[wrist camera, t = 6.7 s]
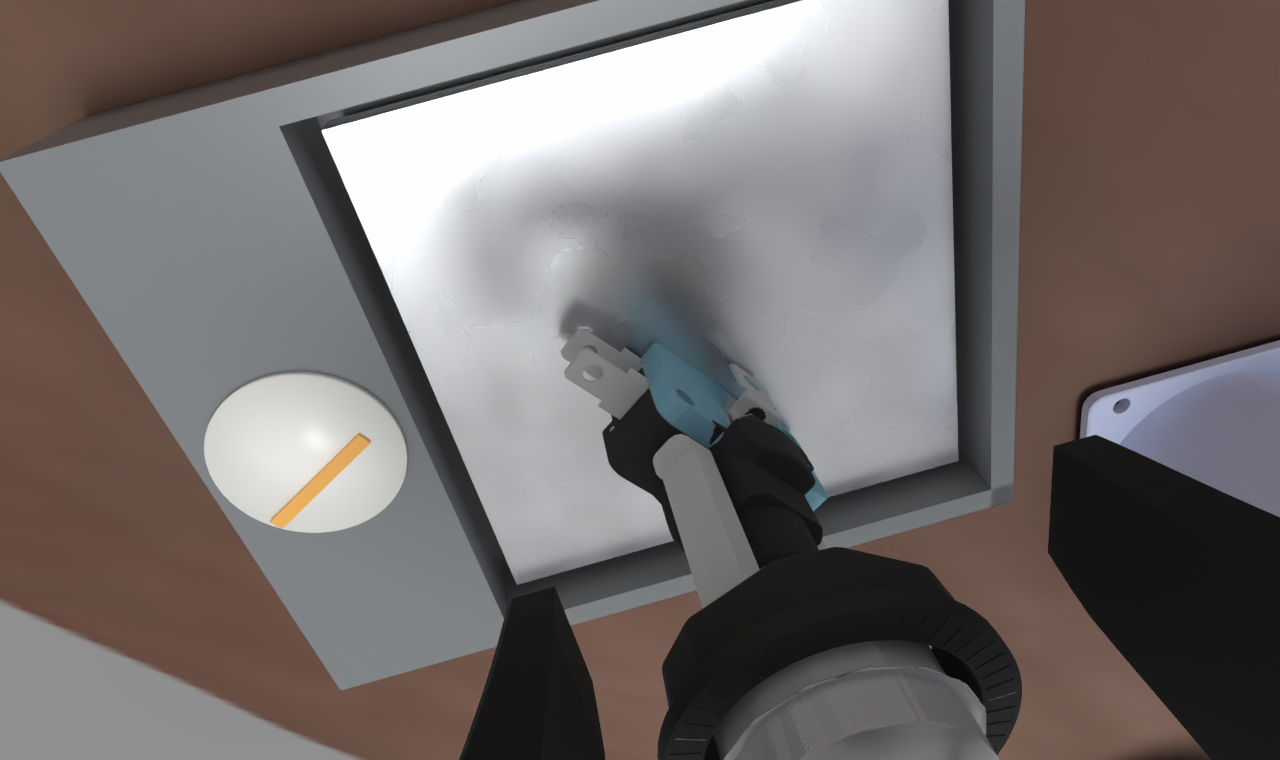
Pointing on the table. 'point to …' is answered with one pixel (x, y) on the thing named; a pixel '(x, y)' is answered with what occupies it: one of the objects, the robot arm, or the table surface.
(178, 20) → the table surface
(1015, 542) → the table surface
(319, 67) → the scale housing
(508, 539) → the weighing pan
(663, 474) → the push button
